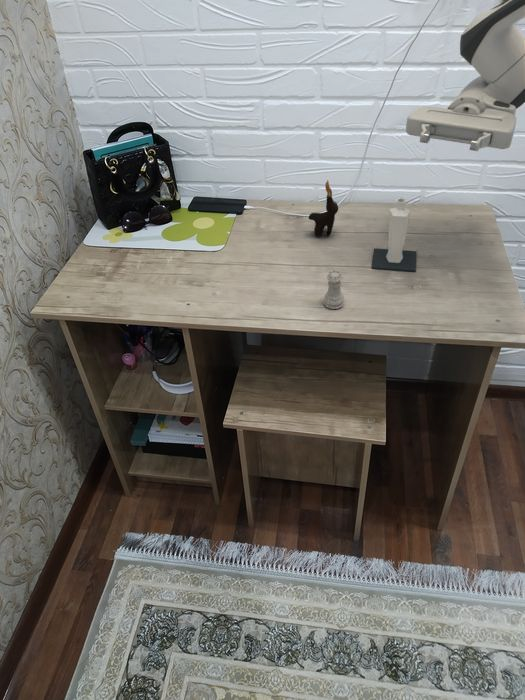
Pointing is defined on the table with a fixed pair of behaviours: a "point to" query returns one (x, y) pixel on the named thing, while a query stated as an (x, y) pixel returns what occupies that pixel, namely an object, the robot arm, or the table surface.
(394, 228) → the perfume bottle
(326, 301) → the rook chess piece
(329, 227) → the figurine
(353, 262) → the table surface
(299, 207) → the table surface
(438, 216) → the table surface
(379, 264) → the mat
